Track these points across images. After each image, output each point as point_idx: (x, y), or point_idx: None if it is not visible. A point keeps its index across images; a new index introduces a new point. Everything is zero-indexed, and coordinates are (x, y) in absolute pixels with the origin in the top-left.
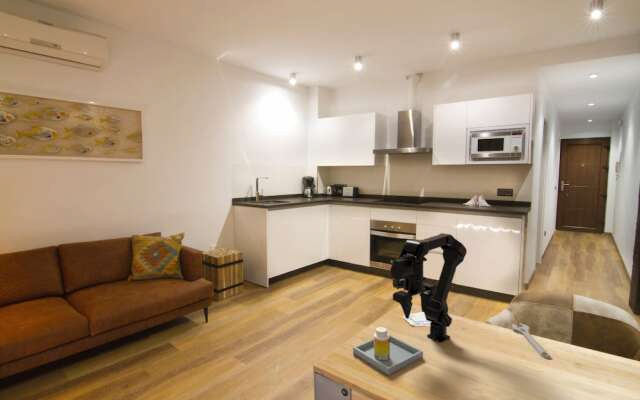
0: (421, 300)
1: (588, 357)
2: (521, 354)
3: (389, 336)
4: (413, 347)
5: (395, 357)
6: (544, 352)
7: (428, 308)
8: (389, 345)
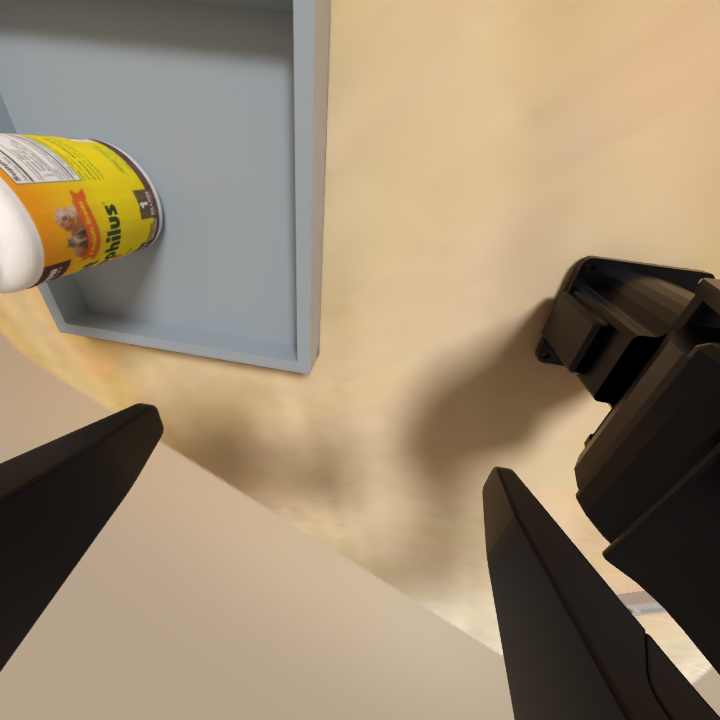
0: (604, 707)
1: (664, 649)
2: (595, 567)
3: (29, 281)
4: (301, 321)
5: (191, 263)
6: (631, 610)
7: (712, 475)
8: (88, 267)
